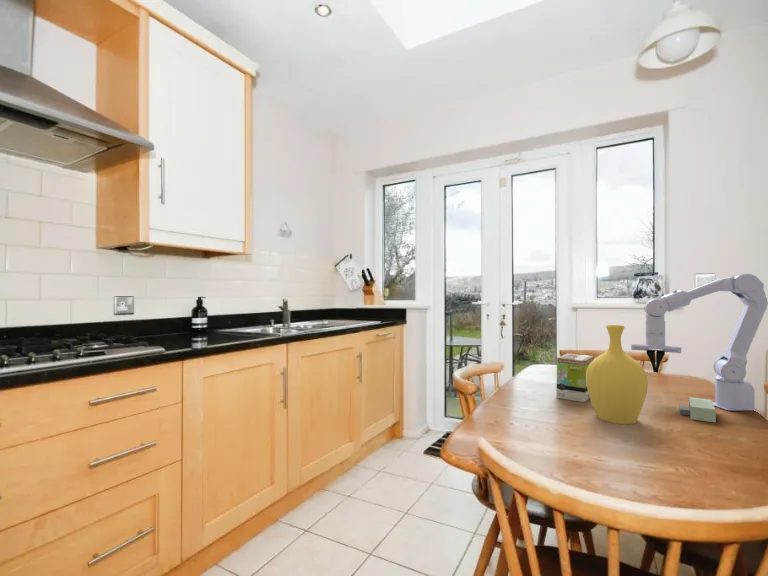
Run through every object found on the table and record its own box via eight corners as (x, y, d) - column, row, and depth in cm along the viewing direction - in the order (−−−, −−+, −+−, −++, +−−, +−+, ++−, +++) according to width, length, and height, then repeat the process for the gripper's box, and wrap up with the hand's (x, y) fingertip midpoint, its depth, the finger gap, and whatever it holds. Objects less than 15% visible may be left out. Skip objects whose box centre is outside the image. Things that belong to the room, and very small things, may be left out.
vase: (659, 429, 109) (657, 328, 109) (595, 425, 112) (595, 327, 112) (634, 412, 124) (633, 324, 125) (579, 409, 128) (578, 323, 128)
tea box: (586, 403, 135) (586, 360, 135) (555, 398, 141) (555, 357, 141) (594, 394, 147) (594, 354, 147) (565, 390, 153) (565, 352, 153)
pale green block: (690, 419, 118) (690, 406, 118) (689, 408, 128) (688, 397, 128) (715, 422, 114) (715, 409, 114) (711, 411, 125) (711, 399, 125)
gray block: (679, 415, 122) (679, 409, 122) (679, 411, 126) (679, 405, 127) (708, 419, 118) (708, 413, 118) (707, 415, 122) (707, 409, 122)
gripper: (630, 333, 140) (630, 371, 140) (681, 335, 132) (681, 376, 131) (631, 331, 146) (632, 368, 146) (680, 333, 137) (681, 372, 137)
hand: (655, 371), depth 139 cm, fingers closed
